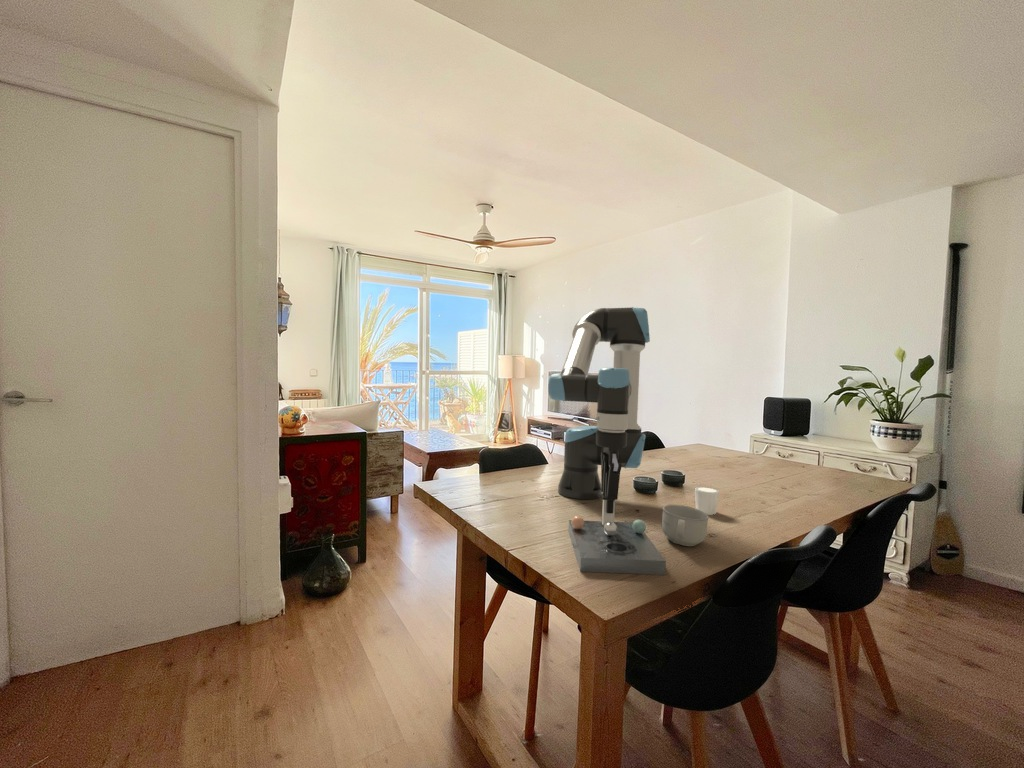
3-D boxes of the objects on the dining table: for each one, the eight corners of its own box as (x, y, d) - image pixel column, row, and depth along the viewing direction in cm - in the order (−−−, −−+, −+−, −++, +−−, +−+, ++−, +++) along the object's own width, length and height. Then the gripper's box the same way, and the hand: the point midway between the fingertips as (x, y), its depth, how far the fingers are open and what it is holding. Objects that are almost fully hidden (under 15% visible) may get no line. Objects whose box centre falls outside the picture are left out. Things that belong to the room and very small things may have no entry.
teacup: (669, 529, 114) (670, 500, 114) (712, 541, 108) (713, 510, 107) (650, 545, 104) (651, 513, 103) (696, 559, 97) (698, 525, 96)
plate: (568, 531, 111) (568, 520, 111) (636, 533, 111) (637, 522, 111) (580, 571, 89) (580, 557, 89) (665, 574, 89) (666, 560, 89)
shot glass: (689, 510, 130) (690, 488, 130) (699, 506, 135) (700, 485, 135) (712, 517, 125) (713, 494, 125) (721, 512, 130) (722, 490, 130)
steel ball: (605, 525, 100) (604, 538, 100) (619, 526, 100) (618, 538, 100) (603, 519, 103) (602, 531, 103) (616, 519, 103) (615, 531, 103)
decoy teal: (630, 530, 105) (631, 517, 105) (643, 530, 105) (643, 518, 105) (634, 535, 102) (634, 522, 102) (647, 535, 102) (647, 522, 102)
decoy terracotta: (570, 526, 107) (570, 513, 106) (583, 526, 106) (583, 514, 106) (572, 531, 103) (572, 518, 103) (585, 531, 103) (585, 518, 103)
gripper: (592, 426, 110) (588, 514, 111) (601, 433, 97) (597, 534, 98) (620, 427, 110) (617, 516, 111) (634, 434, 97) (629, 535, 98)
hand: (607, 524), depth 104 cm, fingers closed
